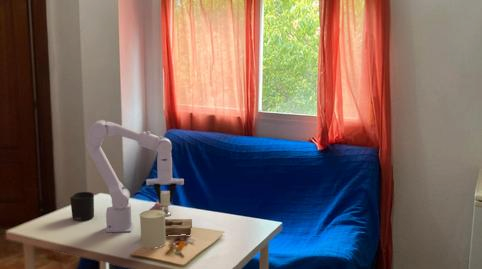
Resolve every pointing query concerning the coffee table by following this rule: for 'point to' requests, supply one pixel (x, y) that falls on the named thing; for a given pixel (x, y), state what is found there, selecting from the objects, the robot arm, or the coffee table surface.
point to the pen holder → (82, 206)
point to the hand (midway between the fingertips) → (165, 202)
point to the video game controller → (157, 206)
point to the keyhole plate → (178, 226)
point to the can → (152, 228)
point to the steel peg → (165, 202)
